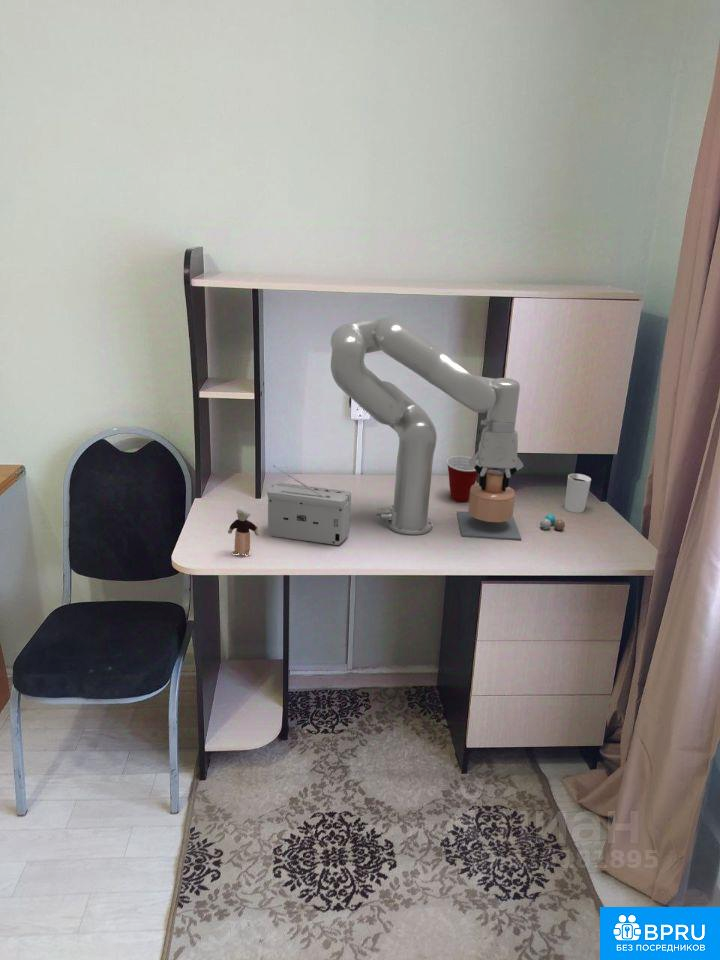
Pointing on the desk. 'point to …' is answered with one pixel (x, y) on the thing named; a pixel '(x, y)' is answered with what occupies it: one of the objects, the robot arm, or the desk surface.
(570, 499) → the white cylinder
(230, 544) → the desk surface
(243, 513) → the grandmother figurine
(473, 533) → the slate mat
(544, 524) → the grey marble
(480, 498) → the terracotta cover
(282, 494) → the stereo radio cassette player
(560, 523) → the dark brown marble
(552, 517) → the teal marble
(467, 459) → the plastic cup
